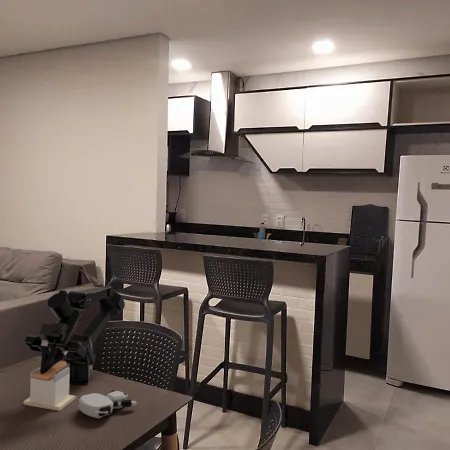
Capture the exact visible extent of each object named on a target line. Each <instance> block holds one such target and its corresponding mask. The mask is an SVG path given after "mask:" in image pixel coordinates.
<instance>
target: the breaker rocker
mask: <svg viewBox="0 0 450 450" xmlns="http://www.w3.org/2000/svg"><path fill="white" fill-rule="evenodd" d="M66 366H67V364H66V362H65V361H64V360H61V361H59V362H58V363H56V364H55V365H54V366H53V367H51V368H50V369H49V370H48V371H47V372H45V373H44V374H41V373H40V370H38V371H37V372H36V373H34V377H35V378H42V379H49V378H51V377H52V376H53V375H54V374H57V373H59V372H60V371H62V370H63V369H64V367H66Z"/></svg>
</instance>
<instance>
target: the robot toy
mask: <svg viewBox="0 0 450 450" xmlns="http://www.w3.org/2000/svg"><path fill="white" fill-rule="evenodd" d="M74 396H75V397H74V398H75V399H79V400H78V409H79V410H80V412H82V413H83V414H85V415H87V416H88V417H92V418H95V419H102V418H103V417H105V416H108V415H111V413H112V412H113V409H114V410H115V409H117V410H118V409H122V408H131V407H132V406H137V401H136V400H131V399H129V394H127V393H126V392H122V391H119V390H117V389H112V390H111V391H109V392H108V393H107V394H106V395H104V394H101V393H96V392H95V393H90V394H89V393H88V394H85V395H82V396H76V395H74Z"/></svg>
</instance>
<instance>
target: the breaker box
mask: <svg viewBox="0 0 450 450" xmlns="http://www.w3.org/2000/svg"><path fill="white" fill-rule="evenodd" d="M40 368H41V366H39V367H37V368H36V369H34V370H31V372H30V385H29V386H30V389H29V390H30V391H29V397H28V398H26V399H25V400H24V401H23V405H24V406H29V407H37V408H42V409H48V410H53V411H59V412H60V411H61V410H63V409H64V408H65V407H66V406H68V405H69V404H70V403H71V402H73V401H74V400H75V399H76V398H74V397H75V396H76V395H72V394H70V384H69V377H70V367H69V366H67V367H65V368H63V369H61V370H59V373H57V374H54V375H53V376H52V377H51V378H49V379H42V378H35V377H34V373H36V372H37V371H38V370H40Z"/></svg>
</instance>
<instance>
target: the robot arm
mask: <svg viewBox="0 0 450 450" xmlns="http://www.w3.org/2000/svg"><path fill="white" fill-rule="evenodd" d="M96 302H98V304H99V311H98V313H96V315H95V316H94V318H93V319H92V320H91V321H90V323H89V324H88V325H87V326H86V328H85V329H84V330H83V332H82V333H81V334H75V333H74V331H75V329H76V327H77V324H78V323H79V322H82V321H83V317H82V313H81V312H79V310H80V311H81V310H82V311H87V310H89V309H90V308H91V307H93V303H96ZM125 304H126V302H125V300H124V298H123V296H122V295H121V294H120V293H118V292H117V291H116V290H115V288H114V287H112V286H109V285H100V286H98V287H95V288H92V289H89V290H85V291H79V290H71V291H69V292H67V291H66V290H62V289H61V290H59V291H58V292H57V293H54V294H52V295H51V296H50V297H49V298H48V299H47V306H48V307H49V309H50V310H51V312H52V313H53V315H54V316H55V317H56V318H58V320H57V322H56V323H55V322H54V323H52V324H49V323H41V325H40V328H39V332H38V335H34V334H33V335H32V334H29V335H27V336H25V338H24V339H23V341H22V343H23V344H24V345H25V346H26V347H27V348H28V349H29V351H31V352H34V353H35V352H36V353H41V362H40V367H41V368H40V373H41V374H44V373H45V372H47V371H48V370H49V369H50V368H51V367H53V366H54V365H55V364H56V363H58V362H59V361H64V362H66V365H67V364H68V365H69V366H68V367H70V377H69V385H88V384H89V382H90V380H91V376H92V375H91V366H93V365H94V363H95V362H96V354H95V352H94V351H93V344H94V342H95V340H96V339H97V338H98V337H99V335H100V334H101V333H102V331H103V330H104V328H105V327H106V325H107V324H108V323H109V322H110V320H111V319H113V318H115V317H118V316H119V315H120V314H121V313H122V312H123V311H124V310H125V306H126V305H125ZM39 335H42V336H43V337H44V339H45V340H43V339H42V338H41V337H40V336H39Z"/></svg>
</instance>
